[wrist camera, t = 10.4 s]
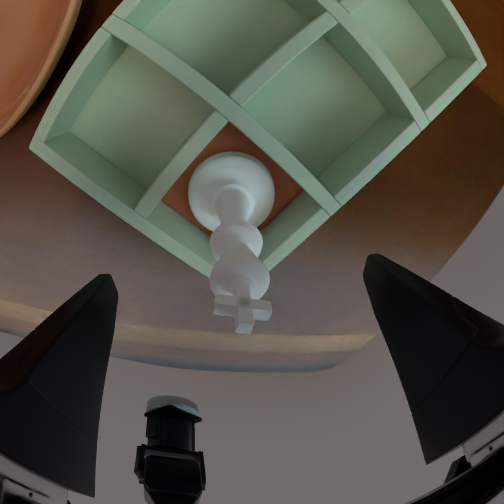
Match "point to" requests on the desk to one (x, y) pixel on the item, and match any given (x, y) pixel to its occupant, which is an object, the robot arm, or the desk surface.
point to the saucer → (30, 51)
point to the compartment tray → (251, 105)
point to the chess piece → (235, 232)
